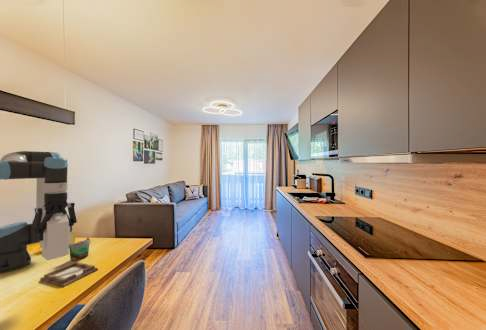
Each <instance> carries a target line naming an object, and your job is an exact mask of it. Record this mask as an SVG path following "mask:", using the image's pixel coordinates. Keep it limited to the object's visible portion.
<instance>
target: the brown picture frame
mask: <svg viewBox="0 0 486 330" xmlns="http://www.w3.org/2000/svg"><path fill="white" fill-rule="evenodd" d="M97 271H99V269H98V267H95V265H94V264H93V265H92V264H88V263H83V262H78V261H73V263H70V264H68V265H65V266H63V267H60V268H57V269H55V270H53V271H50V272H48V273H46V274H44V275H43V277H40V281H41V282H45V283H48V284H52V285H55V286H56V285H57V286H60V287H63V288H64V287H67V286H69V285H71V284H73V283H75V282H77V281H78V280H81V279H83V278H85V277H87V276H89V275H91V274H93V273H95V272H97Z"/></svg>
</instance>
